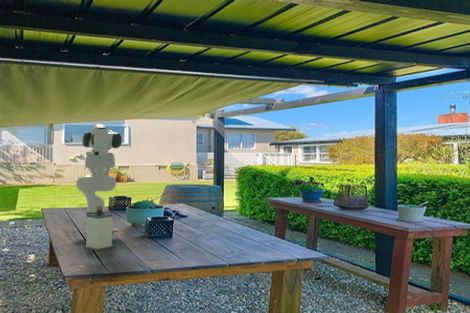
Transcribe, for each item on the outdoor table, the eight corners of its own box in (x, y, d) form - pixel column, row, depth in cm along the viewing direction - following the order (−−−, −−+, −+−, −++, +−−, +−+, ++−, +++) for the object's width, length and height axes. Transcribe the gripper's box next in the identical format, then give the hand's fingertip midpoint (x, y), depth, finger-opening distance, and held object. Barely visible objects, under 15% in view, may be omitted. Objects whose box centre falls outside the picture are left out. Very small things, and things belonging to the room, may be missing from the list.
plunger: (99, 237, 256) (100, 205, 256) (107, 239, 252) (108, 206, 252) (90, 239, 250) (90, 206, 250) (98, 240, 246) (98, 207, 246)
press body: (100, 244, 260) (101, 212, 259) (114, 247, 253) (114, 214, 253) (83, 248, 250) (84, 214, 249) (97, 251, 243) (98, 216, 243)
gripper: (110, 152, 276) (110, 174, 276) (83, 152, 259) (83, 175, 259) (117, 153, 273) (117, 175, 273) (90, 152, 256) (90, 176, 256)
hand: (100, 175), depth 266 cm, fingers open, 8 cm apart
